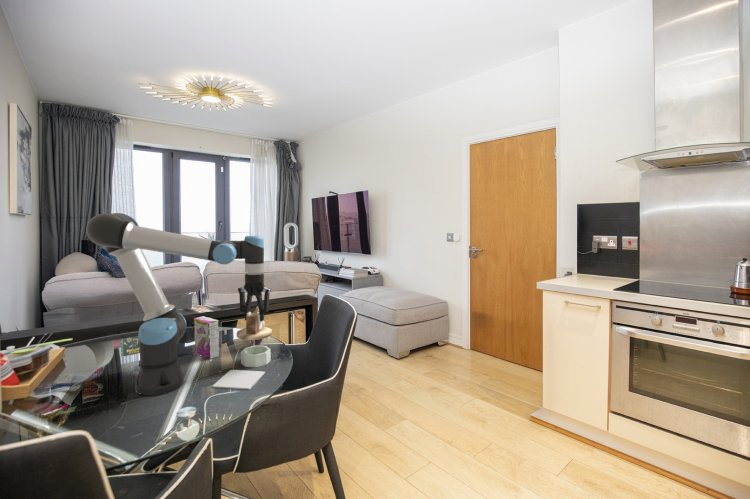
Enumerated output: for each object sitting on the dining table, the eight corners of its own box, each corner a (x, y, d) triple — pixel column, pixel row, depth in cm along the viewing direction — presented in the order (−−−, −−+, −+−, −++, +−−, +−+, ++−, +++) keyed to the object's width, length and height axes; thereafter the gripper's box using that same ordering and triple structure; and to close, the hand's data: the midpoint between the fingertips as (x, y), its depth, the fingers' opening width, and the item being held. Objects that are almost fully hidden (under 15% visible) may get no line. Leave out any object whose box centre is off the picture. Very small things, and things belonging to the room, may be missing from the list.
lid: (230, 338, 146) (230, 318, 146) (245, 328, 160) (245, 310, 160) (263, 340, 145) (264, 320, 144) (276, 330, 159) (276, 311, 158)
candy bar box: (194, 354, 161) (193, 318, 160) (204, 351, 165) (203, 315, 164) (209, 360, 155) (208, 322, 154) (220, 356, 159) (219, 319, 158)
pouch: (263, 354, 163) (263, 312, 161) (244, 355, 161) (243, 313, 159) (267, 335, 187) (266, 299, 185) (250, 336, 185) (249, 300, 183)
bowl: (237, 366, 149) (237, 354, 149) (249, 356, 160) (248, 345, 160) (263, 367, 148) (263, 355, 148) (273, 357, 159) (273, 346, 159)
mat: (212, 387, 131) (212, 386, 131) (230, 370, 145) (230, 369, 145) (249, 389, 130) (249, 388, 129) (265, 372, 143) (265, 371, 143)
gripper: (277, 272, 153) (277, 326, 155) (238, 270, 155) (239, 324, 157) (270, 275, 146) (270, 332, 148) (230, 273, 148) (230, 329, 150)
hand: (254, 328), depth 153 cm, fingers closed on lid, 4 cm apart
